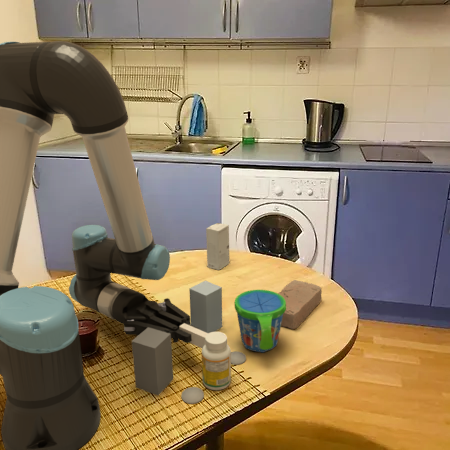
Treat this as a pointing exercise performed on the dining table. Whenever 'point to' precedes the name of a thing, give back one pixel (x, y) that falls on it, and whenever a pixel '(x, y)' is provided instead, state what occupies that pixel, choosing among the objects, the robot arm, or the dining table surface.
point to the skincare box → (217, 246)
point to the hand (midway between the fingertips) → (207, 341)
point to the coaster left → (192, 395)
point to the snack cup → (260, 318)
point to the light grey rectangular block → (206, 306)
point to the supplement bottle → (216, 361)
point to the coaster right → (237, 358)
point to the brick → (299, 302)
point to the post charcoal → (152, 360)
